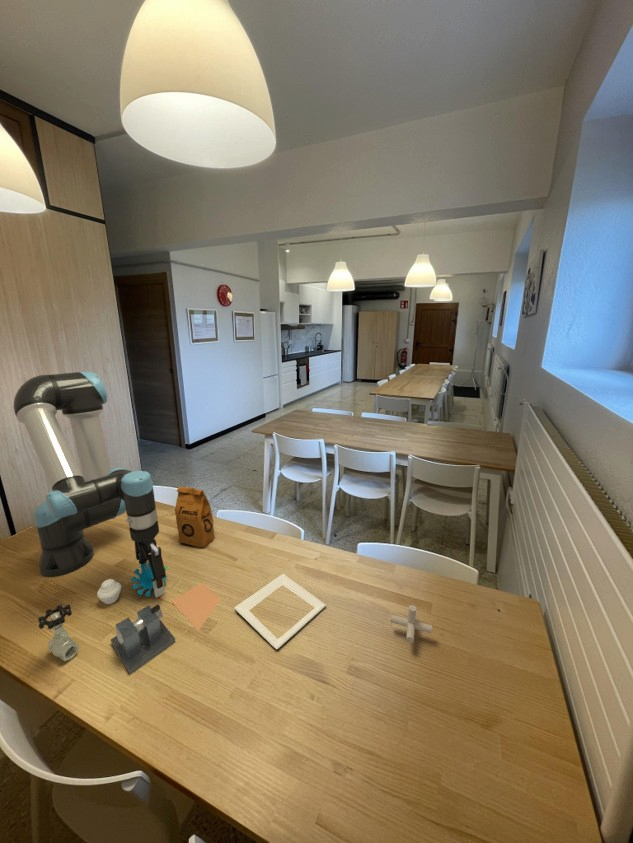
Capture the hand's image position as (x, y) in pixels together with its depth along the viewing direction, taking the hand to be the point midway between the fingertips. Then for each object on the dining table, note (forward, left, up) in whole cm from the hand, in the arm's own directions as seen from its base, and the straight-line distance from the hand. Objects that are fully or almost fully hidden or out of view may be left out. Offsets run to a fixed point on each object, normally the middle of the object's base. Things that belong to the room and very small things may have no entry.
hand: (153, 587), depth 102 cm
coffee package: (-12, +22, -1) cm, 25 cm away
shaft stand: (+17, -10, 0) cm, 20 cm away
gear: (+2, -1, -1) cm, 3 cm away
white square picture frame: (+36, +20, -1) cm, 41 cm away
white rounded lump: (-5, -10, -1) cm, 11 cm away
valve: (+5, -24, -1) cm, 25 cm away
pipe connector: (+68, +36, 0) cm, 77 cm away
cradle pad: (+17, +6, 0) cm, 18 cm away
